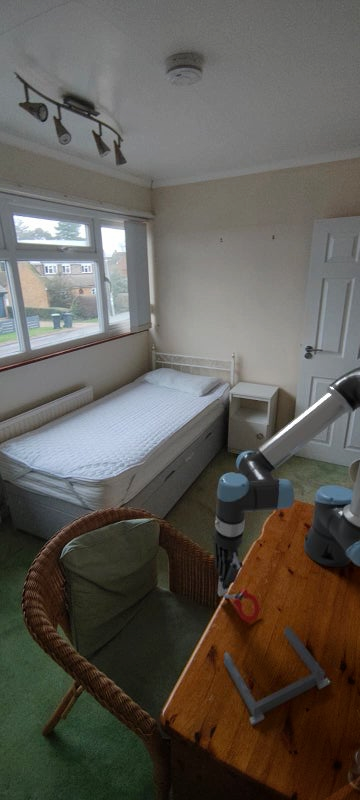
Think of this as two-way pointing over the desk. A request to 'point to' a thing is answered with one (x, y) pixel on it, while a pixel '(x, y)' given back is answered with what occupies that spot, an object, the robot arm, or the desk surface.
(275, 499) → the robot arm
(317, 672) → the bracket
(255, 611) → the tow hook
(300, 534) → the desk surface
